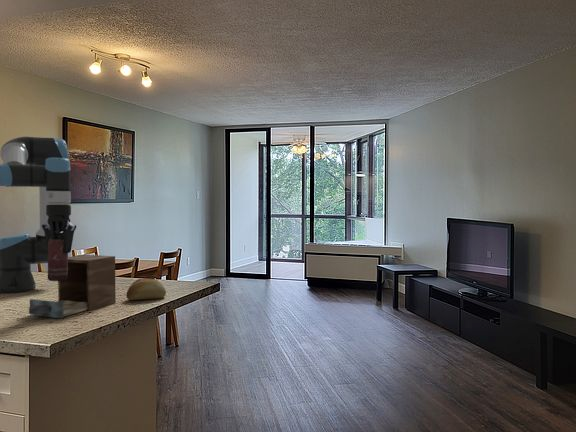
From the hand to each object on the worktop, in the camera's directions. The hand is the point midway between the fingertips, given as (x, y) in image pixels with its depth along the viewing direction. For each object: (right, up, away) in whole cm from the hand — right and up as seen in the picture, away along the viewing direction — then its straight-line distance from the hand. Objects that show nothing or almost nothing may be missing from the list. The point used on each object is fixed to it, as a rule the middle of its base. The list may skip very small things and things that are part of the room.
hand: (59, 273), depth 160 cm
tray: (-1, -13, -1) cm, 13 cm away
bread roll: (+22, -13, +23) cm, 35 cm away
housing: (+4, -13, +12) cm, 18 cm away
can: (-1, -2, 0) cm, 2 cm away
